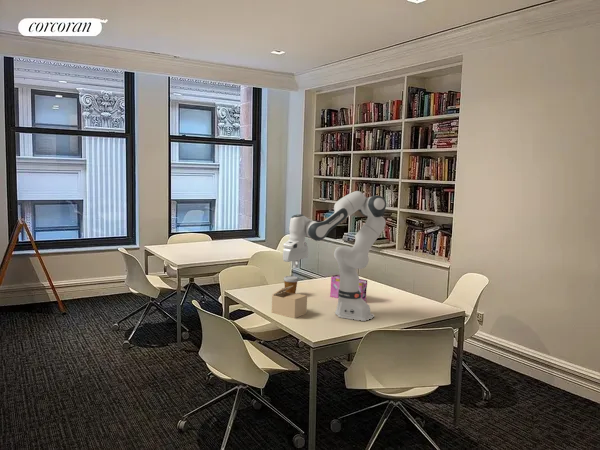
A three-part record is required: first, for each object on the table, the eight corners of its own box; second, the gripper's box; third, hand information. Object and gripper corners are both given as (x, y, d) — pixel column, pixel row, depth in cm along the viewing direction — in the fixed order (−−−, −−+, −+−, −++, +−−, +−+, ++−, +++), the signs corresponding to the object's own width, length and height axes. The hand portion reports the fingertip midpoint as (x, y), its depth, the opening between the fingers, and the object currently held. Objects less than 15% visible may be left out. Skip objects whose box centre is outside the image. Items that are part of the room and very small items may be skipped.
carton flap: (293, 286, 288) (292, 285, 288) (281, 289, 278) (281, 288, 279) (284, 291, 292) (283, 290, 292) (272, 295, 282) (272, 294, 283)
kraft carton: (306, 313, 284) (307, 295, 283) (294, 318, 274) (295, 299, 273) (283, 308, 293) (284, 290, 292) (271, 312, 283) (272, 294, 282)
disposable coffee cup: (300, 295, 324) (301, 277, 323) (292, 298, 316) (293, 279, 315) (287, 292, 329) (288, 275, 327) (280, 295, 321) (280, 277, 319)
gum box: (368, 301, 318) (369, 280, 316) (362, 303, 311) (363, 282, 309) (335, 294, 331) (336, 274, 329) (329, 296, 324) (330, 276, 322)
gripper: (302, 240, 288) (301, 264, 289) (281, 244, 271) (280, 269, 272) (311, 242, 284) (310, 265, 286) (290, 246, 267) (289, 271, 269)
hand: (295, 267), depth 279 cm, fingers closed
